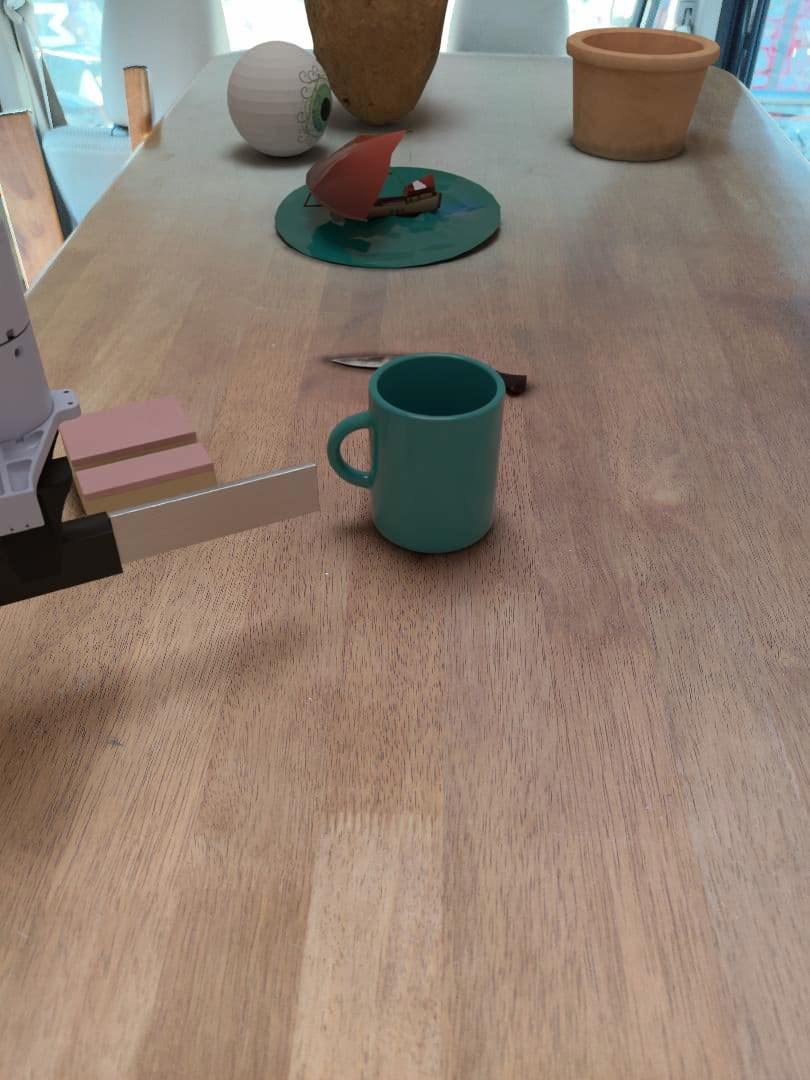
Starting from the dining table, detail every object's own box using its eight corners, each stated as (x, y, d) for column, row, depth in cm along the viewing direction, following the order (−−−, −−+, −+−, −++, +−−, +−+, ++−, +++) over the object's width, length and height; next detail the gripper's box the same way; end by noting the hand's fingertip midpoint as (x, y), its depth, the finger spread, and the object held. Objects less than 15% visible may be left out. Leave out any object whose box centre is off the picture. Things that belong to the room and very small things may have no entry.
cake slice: (97, 547, 63) (83, 494, 60) (89, 523, 65) (74, 471, 62) (221, 514, 66) (213, 462, 64) (209, 492, 69) (201, 441, 66)
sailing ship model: (256, 197, 120) (243, 109, 112) (453, 166, 125) (455, 81, 118) (306, 297, 100) (295, 200, 93) (536, 255, 106) (545, 160, 98)
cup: (333, 482, 70) (327, 350, 63) (488, 482, 70) (499, 351, 63) (326, 557, 63) (318, 419, 56) (498, 558, 63) (512, 420, 56)
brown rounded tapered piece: (469, 116, 152) (478, -61, 136) (415, 152, 136) (419, -44, 120) (349, 100, 159) (345, -70, 143) (285, 133, 143) (273, -55, 127)
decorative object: (293, 177, 126) (285, 58, 117) (211, 158, 132) (198, 44, 123) (354, 150, 136) (351, 39, 127) (275, 135, 142) (267, 27, 133)
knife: (322, 364, 82) (337, 343, 86) (323, 378, 83) (338, 357, 87) (524, 383, 79) (530, 360, 83) (523, 397, 80) (529, 374, 84)
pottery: (696, 173, 129) (719, 62, 120) (544, 158, 134) (555, 50, 125) (701, 133, 145) (722, 32, 136) (565, 121, 150) (577, 23, 141)
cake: (85, 512, 66) (71, 460, 64) (70, 470, 71) (56, 419, 68) (203, 481, 70) (195, 431, 67) (182, 443, 74) (174, 393, 71)
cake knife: (-30, 615, 48) (-49, 566, 45) (-33, 591, 49) (-53, 543, 47) (324, 517, 54) (321, 471, 52) (312, 499, 56) (309, 454, 54)
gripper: (84, 383, 36) (143, 624, 45) (32, 255, 46) (88, 472, 55) (-108, 422, 34) (-7, 669, 42) (-118, 278, 44) (-35, 501, 53)
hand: (38, 560), depth 49 cm, fingers closed on cake knife, 2 cm apart
